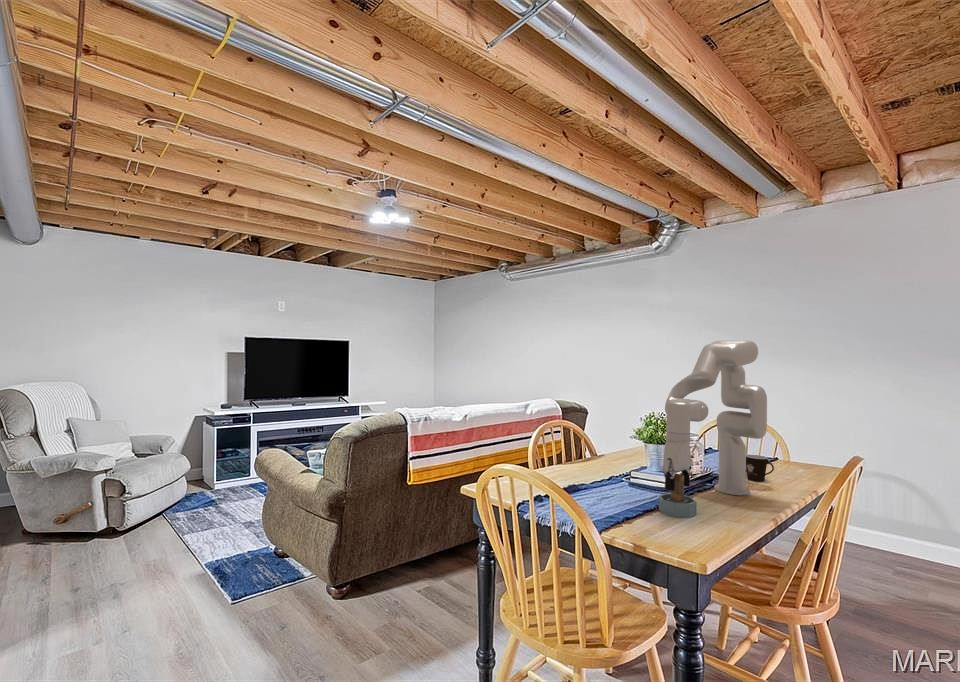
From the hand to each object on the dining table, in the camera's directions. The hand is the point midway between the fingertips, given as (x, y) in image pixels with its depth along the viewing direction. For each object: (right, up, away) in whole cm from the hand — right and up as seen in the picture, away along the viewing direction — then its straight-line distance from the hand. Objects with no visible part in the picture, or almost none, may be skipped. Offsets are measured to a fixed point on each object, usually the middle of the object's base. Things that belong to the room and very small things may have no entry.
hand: (677, 487), depth 167 cm
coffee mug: (+51, -10, +41) cm, 67 cm away
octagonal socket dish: (0, -8, 0) cm, 8 cm away
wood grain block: (0, -8, 0) cm, 8 cm away
